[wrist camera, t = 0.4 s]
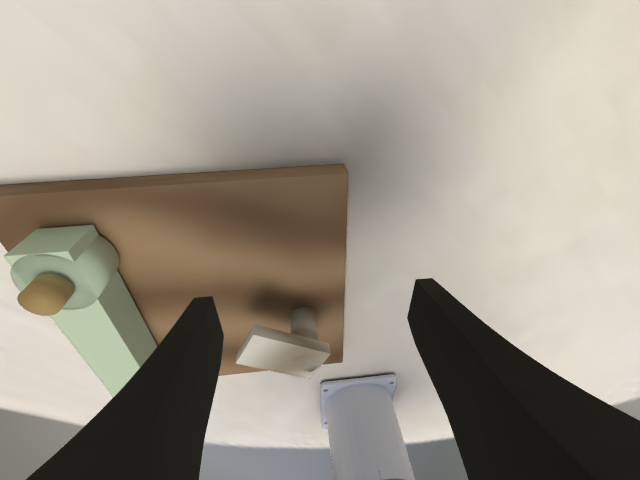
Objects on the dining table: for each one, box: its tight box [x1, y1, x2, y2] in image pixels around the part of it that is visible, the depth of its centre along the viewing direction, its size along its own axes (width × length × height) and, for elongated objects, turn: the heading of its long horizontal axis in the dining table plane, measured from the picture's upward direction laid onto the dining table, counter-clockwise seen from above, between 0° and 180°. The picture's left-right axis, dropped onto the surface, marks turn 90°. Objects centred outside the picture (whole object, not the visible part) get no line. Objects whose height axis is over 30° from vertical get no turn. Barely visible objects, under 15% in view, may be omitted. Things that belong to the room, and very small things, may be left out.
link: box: [4, 225, 157, 397], centre depth 20 cm, size 14×4×2 cm, turn 1°
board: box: [0, 164, 348, 379], centre depth 21 cm, size 18×20×6 cm
